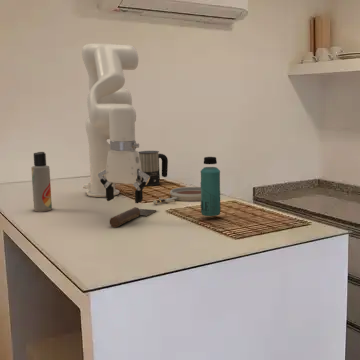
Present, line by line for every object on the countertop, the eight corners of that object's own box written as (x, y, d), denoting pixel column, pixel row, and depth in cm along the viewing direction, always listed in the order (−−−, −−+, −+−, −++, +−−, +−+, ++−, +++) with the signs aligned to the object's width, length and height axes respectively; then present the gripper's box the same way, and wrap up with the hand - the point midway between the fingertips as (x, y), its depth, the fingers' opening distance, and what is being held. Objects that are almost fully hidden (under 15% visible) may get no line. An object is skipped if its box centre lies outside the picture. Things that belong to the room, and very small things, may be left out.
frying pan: (138, 195, 183) (190, 184, 204) (138, 203, 183) (191, 191, 205) (169, 201, 172) (222, 189, 194) (170, 210, 173) (222, 196, 195)
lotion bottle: (55, 209, 171) (52, 151, 167) (42, 212, 166) (39, 153, 162) (43, 207, 173) (39, 150, 170) (30, 210, 168) (26, 152, 165)
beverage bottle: (223, 216, 161) (223, 156, 158) (216, 221, 155) (216, 158, 151) (205, 215, 163) (205, 155, 160) (197, 219, 157) (196, 157, 154)
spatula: (140, 210, 170) (139, 201, 169) (156, 211, 168) (156, 202, 168) (105, 226, 148) (105, 216, 147) (123, 228, 146) (123, 217, 146)
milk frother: (150, 186, 215) (149, 153, 212) (123, 183, 223) (122, 150, 221) (171, 182, 227) (170, 150, 224) (145, 179, 235) (144, 148, 233)
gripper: (154, 146, 151) (155, 200, 154) (103, 143, 156) (105, 196, 159) (143, 149, 144) (144, 206, 147) (90, 146, 149) (93, 201, 152)
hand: (124, 201), depth 153 cm, fingers open, 9 cm apart
